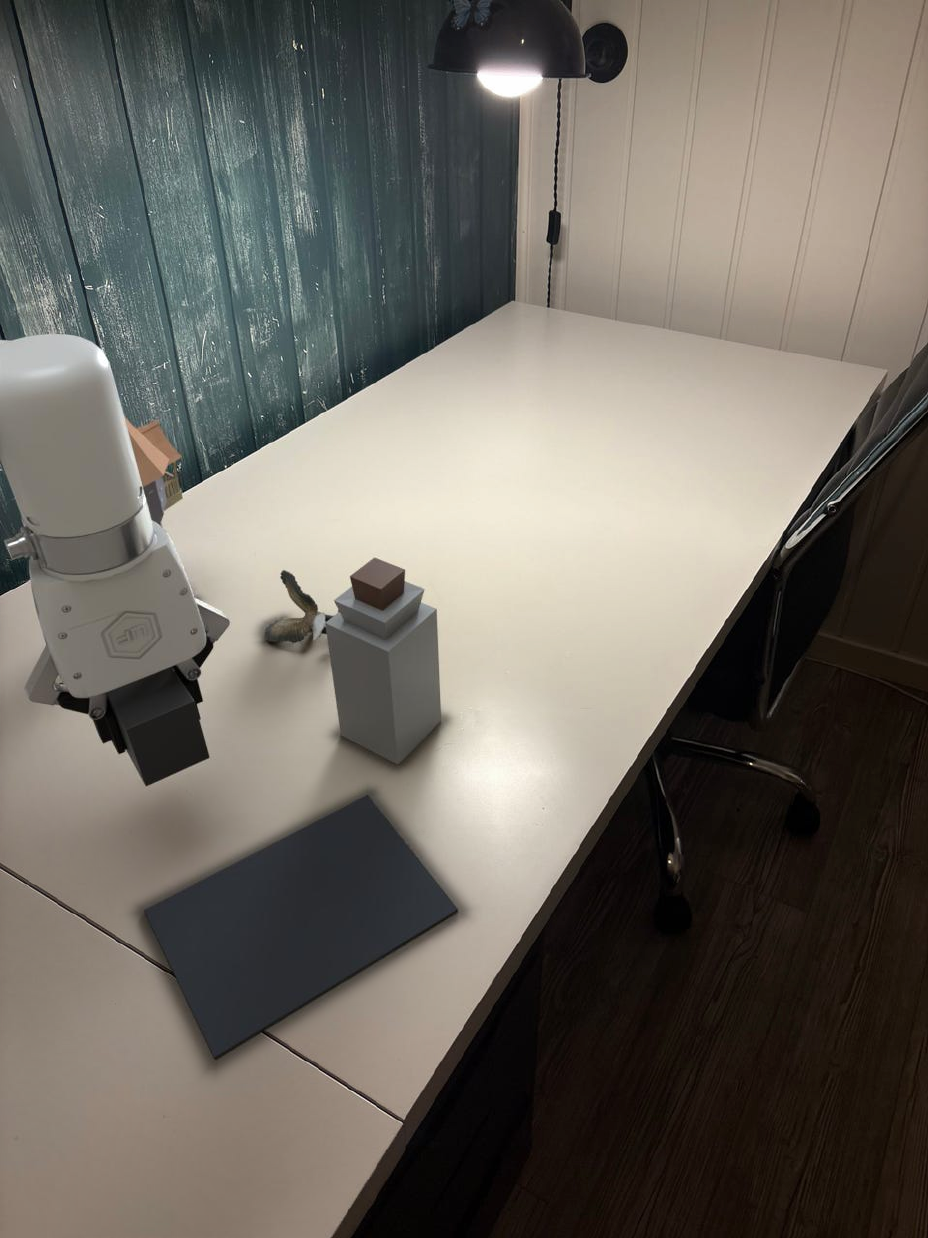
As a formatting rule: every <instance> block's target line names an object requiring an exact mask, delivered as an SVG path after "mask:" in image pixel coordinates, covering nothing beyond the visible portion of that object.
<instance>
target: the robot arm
mask: <svg viewBox="0 0 928 1238" xmlns="http://www.w3.org/2000/svg"><path fill="white" fill-rule="evenodd" d="M111 367H112V366H111V364H110V361H109V360H108V358H107V356H106V355H105V353H104V351H103V349H101V348H100V347H99V346H98V345H97V344H95V343H94V342H93V341H91V340H89V339H87V338H84V337H81V336H78V335H73V334H66V333H65V334H63V333H46V334H36V335H30V336H24V337H20V338H16V339H13V340H6V339H0V462H1V465H2V467H3V470H4V473H5V475H6V479H7V480H8V483H9V486H10V489H11V492H12V494H13V497H14V499H15V502H16V505H17V509H18V510H19V512H20V519H21V522H22V525H23V526H21V527H19V529H20V532H18V533H15V536H13V537H10V538H9V537H8V538H6V539H4V540H3V541H4V545H5V547H6V550H7V552H8V554H9V556H10V558H11V560H12V561H13V560H17V559H20V558H23V557H24V558H25V559H27V558H29V560H28V571H29V581H30V588H31V592H32V598H33V602H34V609H35V611H36V616H37V619H38V622H39V625H40V630H41V632H42V636H43V639H44V642H45V646H44V648H43V650H42V652H41V654H40V656H39V657H38V660H37V661H36V664H35V665H34V667H33V670H32V671H31V672H30V675H29V677H28V679H27V681H26V683H25V685H24V692H25V694H26V695H27V698H28V700H29V701H30V702H31V703H36V704H41V705H47V706H48V705H49V706H59V707H60V708H62V709H64V710H68V711H72V712H77V713H81V714H84V715H87V716H88V717H89V719H90V720H92V721H93V724H94V727H95V729H96V732H97V735H98V736H99V739H100V741H101V743H102V744H105V743H108V742H111V743H112V745H113V746H114V748H115V750H116V752H117V754H118V755H121V754H123V753H127V751H126V749H127V747H126V744H125V742H124V739H123V736H122V733H121V730H120V727H119V725H118V722H117V719H116V716H115V714H114V712H113V710H112V709H111V707H110V705H109V703H108V701H107V692H109V691H111V690H114V689H116V688H119V687H122V686H124V685H127V684H129V683H132V682H134V681H137V680H139V679H142V678H144V677H147V676H149V675H152V674H154V673H157V672H159V671H162V670H164V669H167V668H169V667H172V668H173V669H174V671H175V672H176V674H177V675H178V677H179V678H180V680H181V682H182V683H183V685H184V686H185V688H186V689H187V691H188V692H189V694H190V695H191V697H192V698H193V700H194V702H195V705H196V709H197V713H198V716H199V720H200V721H201V714H200V710H199V707H198V705H199V704H201V703H203V702H204V700H203V695H202V691H201V687H200V683H199V680H198V679H199V678H200V677H201V675H202V670H201V667H202V666H203V665H204V663H205V662H206V660H207V659H208V657H209V656H210V654H211V653H212V652H213V649H214V646H215V645H214V644H215V642H218V641H219V639H220V638H221V637H222V635H223V634H224V633H225V632H226V630H227V629H228V628H229V627H230V625H231V622H230V621H231V620H229V618H228V617H227V615H226V614H225V613H224V611H222V610H220V609H218V608H216V607H215V606H212V605H210V604H209V603H207V602H205V601H202V600H200V599H198V598H196V597H195V594H194V591H193V589H192V586H191V583H190V580H189V577H188V574H187V572H186V569H185V567H184V565H183V562H182V559H181V557H180V555H179V553H178V550H177V548H176V546H175V544H174V542H173V540H172V538H171V536H170V535H169V533H168V532H167V530H165V529H164V527H163V526H162V527H163V528H162V527H161V526H160V525H159V524H158V523H156V522H154V521H152V520H151V516H150V512H149V508H148V505H147V501H146V497H145V494H144V490H143V486H142V482H141V479H140V475H139V471H138V467H137V463H136V459H135V455H134V452H133V448H132V444H131V440H130V436H129V433H128V429H127V425H126V421H125V418H124V416H125V413H124V410H123V406H122V403H121V399H120V396H119V392H118V388H117V384H116V380H115V377H114V373H113V370H112V368H111ZM58 677H59V678H60V680H61V682H59V683H58V682H57V679H58Z"/></svg>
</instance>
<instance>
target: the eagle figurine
mask: <svg viewBox="0 0 928 1238" xmlns="http://www.w3.org/2000/svg"><path fill="white" fill-rule="evenodd" d="M279 575H280V577H279V578H280V580H281V581H282V584H283V585H284V586H285V588H286V590H287V594H288V596H289V598H290V600H291V601H292V602H293V603H294V604H295V605H296V606H297V607H298V608H299V609H300V610H301V611H302V612H303V613H304V616H303V617H287V618H286V617H280V618H279V619H276V620H275V621H274V622H270V623H269V624H268V625H267V626H266V627H265V631H264V633H265V635H264V637H265V640H266V641H267V642H270V643H276V642H278V643H279V642H288V643H291V644H294V643H300V642H302V641H304V640H305V637H307V636H308V634H310V633H312V636H313V638H312V641H313V642H315V641H317V640H318V639H319V638H320V637H321V634H322V635H327V632H326V625H325V623H326V622H327V621H328V620H330V619H331V618H332V617H333V616H335V615H336V614H335V615H331V614H325V611H323V612H321V611H318V610H319V607H318V604H317V603H316V601H315V600H314V598H313V597H311V595H310V594H307V593H306V592H304V591H303V590H302V588H301V586H300V585H299V584H298V581H297V580H296V576H295V575H294V574H293V573H291V572H289V571H287V570H286V569H283V570H281V572H280V574H279ZM338 612H339V610H338V609H337V613H338Z"/></svg>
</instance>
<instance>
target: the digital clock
mask: <svg viewBox="0 0 928 1238" xmlns="http://www.w3.org/2000/svg"><path fill="white" fill-rule="evenodd" d="M107 701H108V703H109V705H110V707H111V709H112V710H113V712H114V714H115V716H116V719H117V722H118V725H119V727H120V730H121V733H122V736H123V739H124V742H125V744H126V747H127V749H126V750H125V751H126V753H127V754H128V756H129V758H130V761H131V763H133V766H134V767H135V769H136V771H137V773H138V774H139V777H140V779H141V781H142V782H143V784H144V786H145V787H149V786H151V785H153V784H155V783H157V782H160V781H162V780H164V779H166V778H169V777H171V776H173V775H175V774H178V773H180V772H182V771H184V770H186V769H189V768H191V767H193V766H195V765H197V764H200V763H201V762H204V761H206V760H208V759H210V757H211V756H210V753H209V750H208V745H207V742H206V739H205V735H204V731H203V728H202V724H201V719H200V720H199V716H198V713H197V709H196V705H195V702H194V700H193V698H192V697H191V695H190V694H189V692H188V691H187V689H186V688H185V686H184V685H183V683H182V682H181V680H180V678H179V677H178V675H177V674H176V672H175V671H174V669H173V668H172V667H169V668H167V669H164V670H162V671H159V672H157V673H154V674H152V675H149V676H147V677H144V678H142V679H139V680H137V681H134V682H132V683H129V684H127V685H124V686H122V687H119V688H116V689H114V690H111V691H109V692H107Z"/></svg>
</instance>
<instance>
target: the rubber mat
mask: <svg viewBox="0 0 928 1238" xmlns="http://www.w3.org/2000/svg"><path fill="white" fill-rule="evenodd" d="M143 912H144V914H145V916H146V919H147V920H148V923H149V924H150V926H151V929H152V931H153V933H154V935H155V937H156V939H157V941H158V943H159V945H160V947H161V949H162V953H163V954H164V956H165V958H166V960H167V963H168V965H169V966H170V968H171V971H172V972H173V973H172V974H173V975H174V977H175V980H176V981H177V983H178V985H179V987H180V990H181V991H182V994H183V996H184V998H185V1000H186V1002H187V1004H188V1006H189V1008H190V1010H191V1013H192V1014H193V1016H194V1019H195V1021H196V1023H197V1025H198V1027H199V1029H200V1031H201V1033H202V1035H203V1037H204V1039H205V1042H206V1044H207V1046H208V1048H209V1050H210V1052H211V1054H212V1057H213V1058H214V1060H217V1059H218V1058H220V1057H222V1056H223V1055H225V1054H227V1053H228V1052H230V1051H232V1050H234V1049H235V1048H236V1047H238V1046H240V1045H241V1044H243V1043H245V1042H246V1041H248V1040H249V1039H251V1038H253V1037H254V1036H256V1035H258V1034H260V1033H261V1032H263V1031H264V1030H266V1029H268V1028H269V1027H271V1026H272V1025H274V1024H276V1023H278V1022H279V1021H281V1020H283V1019H284V1018H285V1017H287V1016H289V1015H291V1014H293V1013H294V1012H296V1011H297V1010H299V1009H300V1008H302V1007H304V1006H305V1005H307V1004H309V1003H310V1002H312V1001H314V1000H315V999H317V998H318V997H320V996H321V995H323V994H325V993H326V992H328V991H330V990H331V989H333V988H335V987H337V986H338V985H340V984H342V983H343V982H345V981H346V980H348V979H349V978H351V977H353V976H355V975H356V974H358V973H359V972H361V971H363V970H365V969H366V968H368V967H370V966H371V965H372V964H375V963H376V962H377V961H379V960H381V959H383V958H384V957H386V956H387V955H389V954H390V953H392V952H394V951H395V950H397V949H399V948H400V947H402V946H403V945H406V944H407V943H409V942H410V941H412V940H414V939H415V938H417V937H419V936H420V935H422V934H423V933H425V932H426V931H429V930H430V929H431V928H433V927H435V926H437V925H438V924H439V923H441V922H443V921H445V920H446V919H448V918H450V917H451V916H453V915H455V914H456V913H458V912H459V908H458V907H457V906H456V905H455V903H454V902H453V901H452V899H451V898H450V897H449V896H448V895H447V893H446V892H445V890H444V889H443V888H442V887H441V885H439V882H438V881H436V879H435V878H434V877H433V876H432V874H431V873H430V872H429V870H428V869H427V868H426V867H425V865H424V864H423V863H422V862H421V860H420V859H419V858H418V856H417V855H416V854H415V853H414V851H413V850H412V848H410V846H409V845H408V844H407V842H406V841H405V839H403V837H402V836H401V835H400V834H399V832H398V831H397V830H396V829H395V827H394V826H393V825H392V824H391V822H390V821H389V820H388V818H387V817H386V816H385V815H384V814H383V812H382V811H381V810H380V808H379V807H378V805H376V803H375V802H374V801H373V799H371V797H370V796H369V794H366V795H364V796H362V797H360V798H358V799H357V800H355V801H353V802H351V803H348V804H346V805H345V806H343V807H341V808H339V809H337V810H335V811H333V812H331V813H329V814H327V815H325V816H323V817H322V818H320V819H318V820H316V821H313V822H312V823H310V824H308V825H306V826H304V827H302V828H300V829H298V830H296V831H294V832H292V833H290V834H289V835H287V836H285V837H283V838H281V839H279V840H277V841H275V842H273V843H271V844H269V845H267V846H265V847H263V848H261V849H260V850H258V851H255V852H254V853H251V854H250V855H248V856H245V857H244V858H242V859H240V860H238V861H236V862H234V863H233V864H231V865H229V866H226V867H224V868H222V869H221V870H219V871H216V872H215V873H213V874H211V875H209V876H207V877H205V878H203V879H201V880H199V881H197V882H195V883H194V884H191V885H189V886H187V887H186V888H184V889H182V890H180V891H177V892H176V893H174V894H172V895H170V896H168V897H166V898H164V899H163V900H160V901H158V902H156V903H155V904H153V905H151V906H149V907H146V908H145V909H143Z"/></svg>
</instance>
